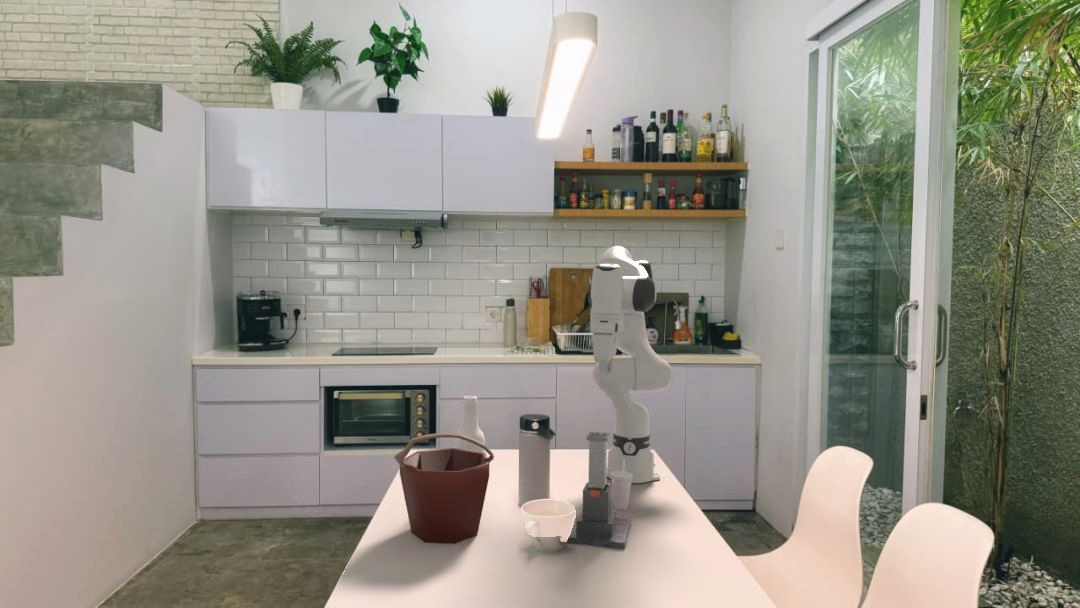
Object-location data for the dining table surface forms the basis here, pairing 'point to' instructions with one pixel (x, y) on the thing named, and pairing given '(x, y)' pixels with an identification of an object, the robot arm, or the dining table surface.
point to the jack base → (599, 522)
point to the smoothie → (621, 487)
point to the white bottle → (470, 426)
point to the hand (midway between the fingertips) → (605, 375)
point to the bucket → (444, 489)
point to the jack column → (597, 460)
